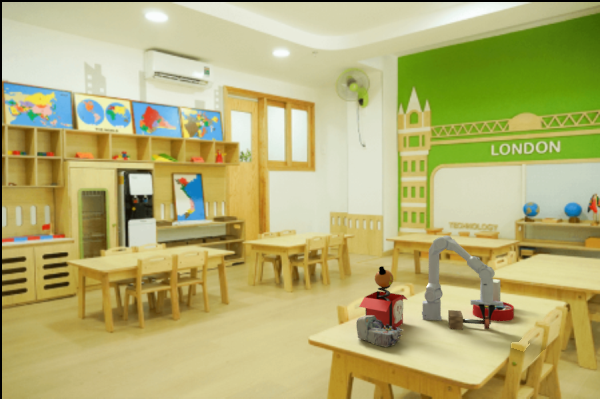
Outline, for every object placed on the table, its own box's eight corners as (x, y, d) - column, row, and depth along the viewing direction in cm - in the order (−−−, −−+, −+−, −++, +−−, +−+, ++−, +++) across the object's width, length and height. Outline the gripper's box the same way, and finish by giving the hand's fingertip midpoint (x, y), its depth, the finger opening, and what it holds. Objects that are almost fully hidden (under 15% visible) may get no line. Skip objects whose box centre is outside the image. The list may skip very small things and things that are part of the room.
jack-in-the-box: (388, 334, 204) (388, 271, 203) (359, 328, 213) (358, 268, 212) (409, 320, 225) (409, 263, 224) (382, 315, 234) (382, 260, 233)
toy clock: (469, 299, 244) (508, 300, 240) (469, 309, 244) (507, 311, 240) (477, 309, 224) (518, 311, 220) (476, 320, 224) (518, 322, 220)
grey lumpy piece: (365, 310, 207) (405, 318, 195) (364, 333, 207) (404, 342, 196) (352, 317, 196) (394, 326, 185) (352, 341, 196) (394, 351, 185)
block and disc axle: (457, 328, 212) (457, 316, 212) (456, 324, 218) (456, 312, 218) (491, 330, 208) (491, 318, 208) (489, 326, 214) (489, 315, 214)
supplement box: (500, 305, 251) (501, 279, 251) (498, 309, 244) (498, 282, 243) (484, 303, 256) (484, 277, 256) (481, 306, 249) (481, 280, 248)
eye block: (449, 329, 211) (449, 315, 211) (448, 322, 221) (448, 310, 221) (463, 330, 210) (463, 316, 209) (460, 323, 219) (460, 310, 219)
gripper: (471, 293, 209) (471, 321, 209) (504, 295, 205) (504, 323, 206) (470, 289, 216) (469, 317, 216) (501, 291, 212) (501, 319, 212)
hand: (486, 319), depth 211 cm, fingers closed on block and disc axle, 2 cm apart
